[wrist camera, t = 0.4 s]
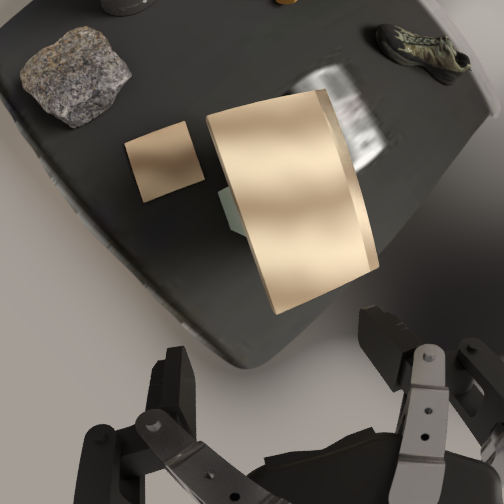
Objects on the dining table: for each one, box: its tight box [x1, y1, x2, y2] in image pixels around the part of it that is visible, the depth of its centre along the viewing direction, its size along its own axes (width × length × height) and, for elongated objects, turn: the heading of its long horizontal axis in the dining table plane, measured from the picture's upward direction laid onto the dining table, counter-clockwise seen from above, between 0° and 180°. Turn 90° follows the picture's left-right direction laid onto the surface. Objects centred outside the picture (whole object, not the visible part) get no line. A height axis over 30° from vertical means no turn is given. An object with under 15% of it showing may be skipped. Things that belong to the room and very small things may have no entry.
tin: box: [218, 186, 246, 237], centre depth 32 cm, size 5×5×12 cm
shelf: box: [206, 89, 379, 315], centre depth 29 cm, size 15×10×17 cm, turn 19°
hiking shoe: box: [375, 24, 472, 85], centre depth 36 cm, size 8×21×9 cm, turn 88°
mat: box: [124, 121, 205, 203], centre depth 34 cm, size 8×8×1 cm
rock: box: [20, 26, 132, 128], centre depth 27 cm, size 13×6×15 cm
